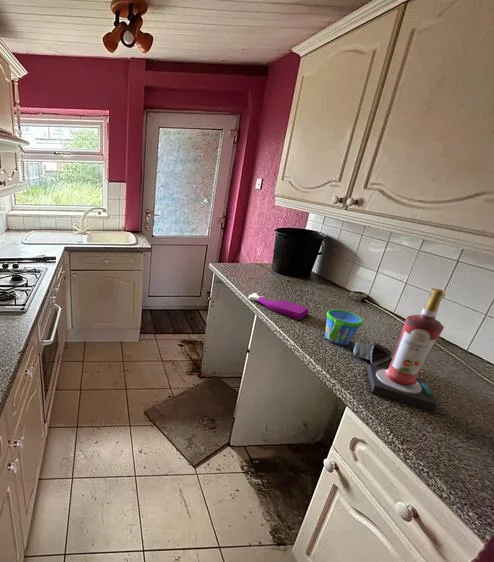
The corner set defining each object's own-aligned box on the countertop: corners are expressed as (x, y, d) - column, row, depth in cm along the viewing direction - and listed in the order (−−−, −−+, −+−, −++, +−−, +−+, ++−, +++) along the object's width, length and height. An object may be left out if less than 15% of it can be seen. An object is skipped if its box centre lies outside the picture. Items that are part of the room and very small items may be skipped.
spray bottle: (298, 321, 127) (243, 301, 145) (309, 314, 133) (256, 295, 151) (299, 314, 126) (244, 295, 144) (311, 308, 132) (257, 290, 150)
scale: (421, 386, 91) (425, 377, 90) (433, 411, 82) (437, 402, 81) (366, 370, 98) (370, 362, 97) (371, 392, 88) (375, 384, 87)
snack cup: (343, 354, 106) (352, 328, 102) (311, 339, 114) (318, 315, 110) (361, 340, 114) (370, 316, 110) (330, 328, 122) (338, 305, 118)
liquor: (417, 380, 89) (459, 291, 79) (414, 392, 84) (459, 299, 74) (384, 368, 94) (420, 283, 83) (380, 379, 89) (418, 289, 79)
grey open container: (369, 348, 111) (355, 328, 106) (393, 353, 104) (379, 333, 100) (358, 370, 108) (343, 351, 104) (382, 377, 102) (367, 357, 98)
